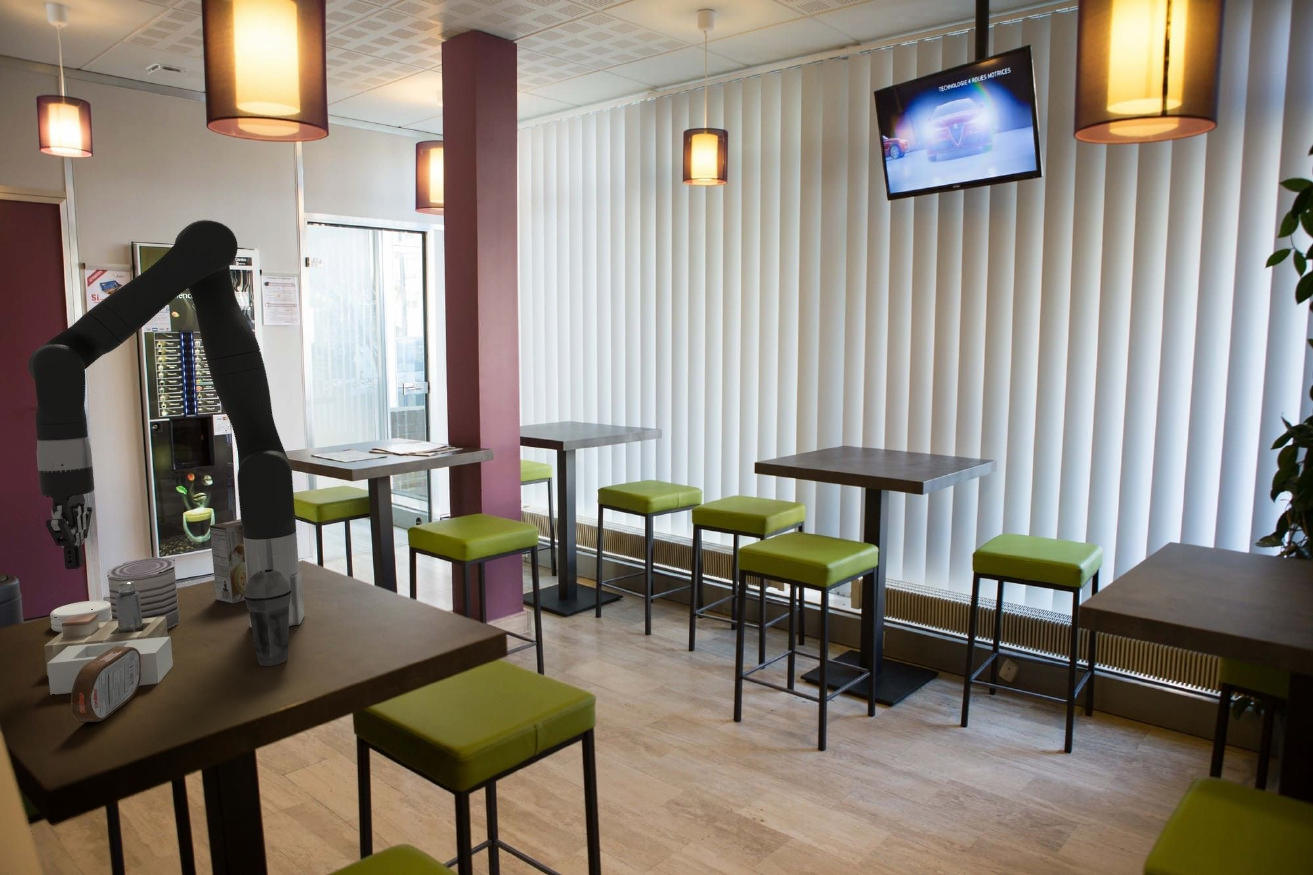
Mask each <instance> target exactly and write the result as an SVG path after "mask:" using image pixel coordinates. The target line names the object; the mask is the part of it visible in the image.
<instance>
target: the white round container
mask: <svg viewBox="0 0 1313 875" xmlns="http://www.w3.org/2000/svg"><path fill="white" fill-rule="evenodd" d="M91 609H93V610H91ZM91 614H98V622H99V623H100V622H111V621H112V613H111V603H110V601H106V600H87V601H79V602H73V603H70V604H69V603H68V604H66V605H62V606H59V607H57V608H55V609H53V610H52V611H51V612H50V615H49V617H50V623H51V626H50V628H51V629H52V631H54V632H57V633H61V632H63V630H62V623H63V622H64V621H66V620H67V619H68V618H70V617H71V616H80V615H91ZM54 617H57V618H54Z"/></svg>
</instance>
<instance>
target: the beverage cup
mask: <svg viewBox="0 0 1313 875" xmlns="http://www.w3.org/2000/svg"><path fill="white" fill-rule="evenodd" d="M257 548H258V554H259V560H260V566H261V571H259V572H257V573H256V574H254V575H253V576H252V577H251V578H250V579H249V581H248V583H247V585H246V588H245V595H244V599H246V600H245V604H246V608H247V610H248V615H249V614H250V619H249V621H250V620H251V626H252V628H251V632H252V636H253V642H254V648H255V654H256V656H257V661H258V663H257V664H258V665H259V666H263V667H269V666H270V667H272V666H278V665H281V664H283V663H285V662H287V661H288V656H289V638H290V636H289V635H290V634H289V631H290V630H289V627H290V626H289V604H290V599H291V592H292V591H291V588H290V585H289V582H288V580H287V578H286V577H285V576H284V575H283V574H282V573H280V572H279V571H276V570H273V569H266V570H265V568H264V563H263V557H262V551H261V545H258V546H257ZM251 626H250V627H251Z"/></svg>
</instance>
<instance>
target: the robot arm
mask: <svg viewBox="0 0 1313 875" xmlns="http://www.w3.org/2000/svg"><path fill="white" fill-rule="evenodd" d="M174 240H175V241H174V244H173V245H172V246H171V248H170V249H168V251H167V252H166V253H165V254H163V256H162V257H160V258H159V259H158V260H157V261H156V262H155V263H154V264H152V265H151V266H149V267H148V268H147V269H146V270H144V271H143V272H142V273H140V274H139V275H137V276H135V277H134V278H133V279H132V280H130V281H128V282H126V283H125V284H124V285H122V286H120V287H119V288H118V289H116V290H115V291H114V292H112V293H111V294H109V295H108V296H106V297H105V298H104V299H102V300H101V301H99V302H98V303H97V304H96V305H94V306H93V307H92V308H90V309H89V310H88V311H86V313H84V314H83V315H82V316H81V317H79V318H78V320H76V322H74V323H73V324H72V325H71V326H70V327H68V328H66V329H64V330H63V331H62V332H59V333H58V334H57V335H55V336H54V337H53V338H51V339H50V340H48V341H47V342H45V343H44V344H42V345H41V346H40V347H38V348H37V349H35V350H34V352H32V354H31V355H30V357H29V360H28V364H27V365H28V366H27V367H28V372H29V374H30V376H31V377H32V379H34V383H35V392H36V393H35V394H36V402H37V407H36V408H35V413H34V414H35V416H34V419H35V421H34V423H35V431H36V440H37V441H36V445H37V446H36V462H37V474H38V475H37V476H38V483H39V494H40V495H41V496H42V497H45V498H52V503H51V504H52V505H51V509H50V511H51V517H52V519H46V521H45V525H46V528H47V530H48V532H49V534H50V536H51V538H52V539H53V542H54V544H55V545H56V547H60V548H62V549H63V557H64V567H65V569H66V570H78V569H80V568H82V567H83V566H84V557H83V545H84V542H85V540H86V539H88V536H89V535H88V534H89V530H90V524H91V519H92V514H93V507H92V506H87V503H86V498H85V496H84V495H87V494H90V493H92V492H93V491H94V490H95V482H94V479H95V478H94V469H93V468H94V467H93V459H92V458H93V457H92V456H93V455H92V450H91V449H92V448H91V445H90V441H89V440H90V439H89V433H88V422H87V414H86V409H85V408H86V407H85V402H86V385H87V384H86V379H87V378H86V370H87V368H88V367H90V366H91V365H92V364H94V363H95V362H96V361H97V360H98V359H99V358H101V357H103V356H104V355H106V354H108V353H111V352H112V351H114V350H115V349H117V348H118V347H120V346H121V345H122V344H123V343H125V342H126V341H127V340H129V339H130V338H131V337H132V336H133V335H134V334H136V333H137V332H138V331H139V330H141V329H142V328H143V327H144V326H145V325H147V323H149V322H150V321H151V320H152V319H153V318H155V316H157V314H159V312H161V311H162V310H163V309H164V308H165V307H167V305H169V304H170V303H171V302H172V301H173V300H175V299H176V298H178V296H180V295H181V294H183V292H185V291H187V290H188V291H189V294H190V296H191V299H192V304H193V305H194V309H195V314H196V319H197V325H198V330H199V334H200V339H201V343H202V347H203V351H204V356H205V360H206V364H207V366H208V367H207V368H208V371H209V374H210V378H211V380H212V381H211V382H212V384H213V386H214V389H215V392H216V395H217V398H218V400H219V402H220V404H221V406H222V408H223V410H224V412H225V414H226V416H227V419H228V420H229V423H230V426H231V428H232V430H233V436H234V439H235V440H234V441H235V444H236V448H237V456H238V464H239V467H238V470H237V491H238V504H239V513H240V514H239V516H240V519H241V524H242V530H243V540H244V553H245V566H246V579H247V583H248V581H249V579H250V578H251V577H252V576H253V575H254V574H256V573H257V572H259V571H261V566H260V560H259V554H258V548H257V546H258V545H261V551H262V557H263V563H264V568H265V570H266V569H273V570H276V571H279V572H280V573H282V574H283V575H284V576H285V577H286V578H287V580H288V582H289V585H290V588H291V591H292V592H291V599H290V604H289V627H292V626H298V625H301V623H302V622H303V619H304V618H305V603H304V601H305V600H304V590H303V589H304V588H303V575H302V574H303V573H302V568H301V567H300V565H299V564H300V563H299V550H298V537H297V535H298V534H297V522H296V511H295V510H296V509H295V497H294V496H295V494H294V482H293V480H294V479H293V467H292V463H291V461H290V459H289V457H288V455H287V453H286V451H285V448H284V446H283V443H282V441H281V437H280V435H279V433H278V429H277V427H276V423H275V419H274V415H273V409H272V408H273V407H272V400H271V393H270V386H269V382H268V376H267V372H266V368H265V363H264V359H263V355H262V352H261V348H260V345H259V341H258V339H257V337H256V334H255V333H254V330H253V329H252V327H251V325H250V323H249V321H248V319H247V317H246V316H245V314H244V312H243V310H242V308H241V306H240V304H239V301H238V300H237V297H236V294H235V288H234V284H233V280H232V274H231V267H230V266H231V265H232V264H233V263H234V261H235V260H236V257H237V255H238V254H237V253H238V247H239V246H238V241H237V238H236V235H235V234H234V232H233V230H232V229H231V228H230V227H229V226H227V225H226V224H224V223H222V222H220V221H219V220H218V221H217V220H213V219H200V220H196V221H193V222H191V223H190V224H189V225H186V226H185V227H184V228H183V229H182V230H181V231H180V232H179V233H178V234H177V236H176V237H175V239H174ZM84 539H85V540H84ZM248 618H249V627H250V628H251V629H252V626H251V620H250V614H249V613H248Z"/></svg>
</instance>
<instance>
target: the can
mask: <svg viewBox="0 0 1313 875" xmlns="http://www.w3.org/2000/svg"><path fill="white" fill-rule="evenodd" d="M175 567H176V561H175V558H164V557H150V558H149V557H148V558H143V559H136V560H131V561H126V562H124V563H122V564H119V565H116V566H113V567H111V568H109V569H107V576H106V577H107V580H108V589H109V600H110V601H109V603H111V613H112V620H111V621H118V619H117V609H116V598H115V596H116V595H117V594H119V586H118V584H119V583H121V582H125V581H135V590H136V591H138V592H140V600H141V611H142V619H144V618H155V617H166V621H167V630H170V629H172V628H174V627H176V626H179V624H180V611H179V610H180V609H179V600H178V598H179V597H178V588H177V578H176V577H177V576H176V568H175ZM175 625H176V626H175ZM171 627H172V628H171Z"/></svg>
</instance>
